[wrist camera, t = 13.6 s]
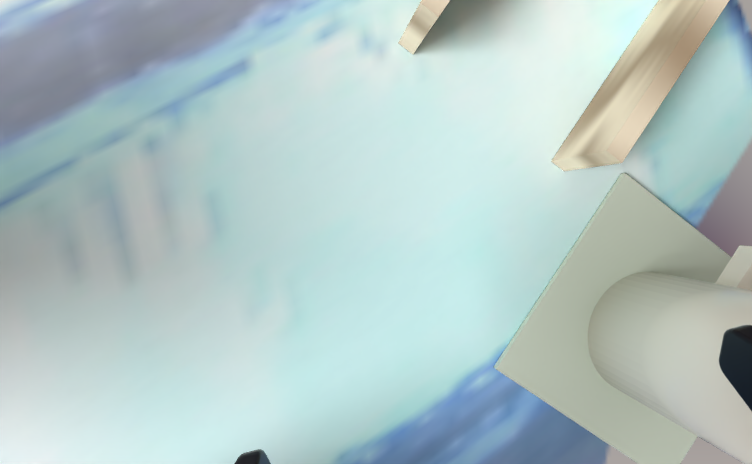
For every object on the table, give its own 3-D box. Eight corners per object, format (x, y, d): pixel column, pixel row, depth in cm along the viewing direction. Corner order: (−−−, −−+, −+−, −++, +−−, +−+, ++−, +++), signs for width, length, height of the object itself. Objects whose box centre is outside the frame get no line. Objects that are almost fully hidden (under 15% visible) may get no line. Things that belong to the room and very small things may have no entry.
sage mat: (663, 480, 23) (667, 483, 23) (493, 366, 21) (496, 369, 21) (778, 298, 23) (784, 299, 23) (620, 173, 22) (625, 173, 22)
